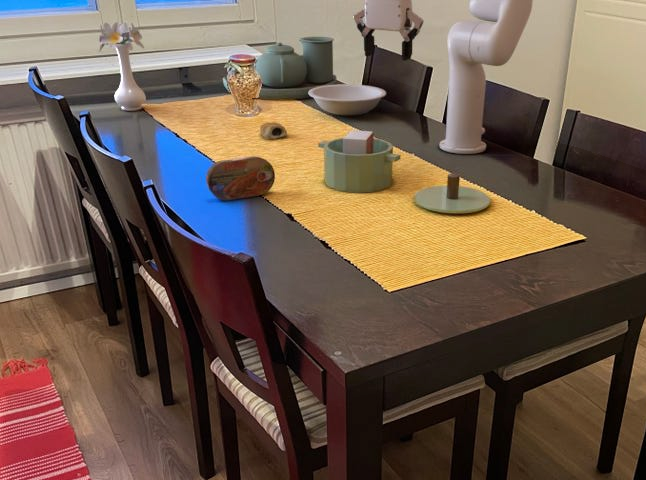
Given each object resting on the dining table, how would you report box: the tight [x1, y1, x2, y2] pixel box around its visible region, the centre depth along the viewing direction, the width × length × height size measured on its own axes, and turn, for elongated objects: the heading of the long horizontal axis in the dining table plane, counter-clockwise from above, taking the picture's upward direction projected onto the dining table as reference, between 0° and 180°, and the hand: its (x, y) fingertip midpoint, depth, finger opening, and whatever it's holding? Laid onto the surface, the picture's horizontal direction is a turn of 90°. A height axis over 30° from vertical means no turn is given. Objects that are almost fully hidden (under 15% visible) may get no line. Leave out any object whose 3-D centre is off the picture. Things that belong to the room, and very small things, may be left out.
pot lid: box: [413, 173, 491, 214], centre depth 161 cm, size 17×17×6 cm
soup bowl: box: [308, 83, 387, 116], centre depth 230 cm, size 24×24×7 cm
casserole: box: [317, 137, 402, 193], centre depth 172 cm, size 16×21×8 cm
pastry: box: [259, 121, 287, 141], centre depth 208 cm, size 9×7×4 cm
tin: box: [205, 155, 276, 202], centre depth 162 cm, size 15×3×8 cm, turn 117°
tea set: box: [222, 36, 338, 101], centre depth 258 cm, size 40×40×16 cm
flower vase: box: [97, 21, 147, 112], centre depth 227 cm, size 13×18×25 cm
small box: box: [342, 129, 375, 155], centre depth 171 cm, size 8×6×10 cm
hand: (387, 57), depth 168 cm, fingers open, 9 cm apart
